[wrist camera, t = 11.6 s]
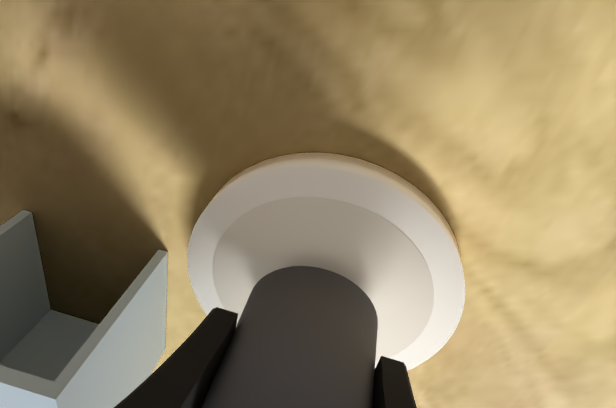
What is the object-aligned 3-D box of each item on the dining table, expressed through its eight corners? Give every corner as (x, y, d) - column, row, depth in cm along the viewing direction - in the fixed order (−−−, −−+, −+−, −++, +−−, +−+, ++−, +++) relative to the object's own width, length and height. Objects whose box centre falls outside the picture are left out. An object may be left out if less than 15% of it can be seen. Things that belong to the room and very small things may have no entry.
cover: (44, 312, 19) (-85, 446, 14) (23, 209, 16) (-153, 334, 11) (165, 349, 19) (78, 498, 14) (167, 251, 16) (55, 399, 11)
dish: (192, 321, 17) (181, 341, 16) (208, 117, 12) (193, 130, 12) (407, 385, 17) (407, 410, 16) (513, 200, 12) (521, 221, 11)
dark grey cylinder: (241, 339, 14) (182, 483, 10) (258, 249, 12) (192, 390, 8) (356, 374, 14) (339, 534, 10) (396, 290, 12) (393, 453, 8)
